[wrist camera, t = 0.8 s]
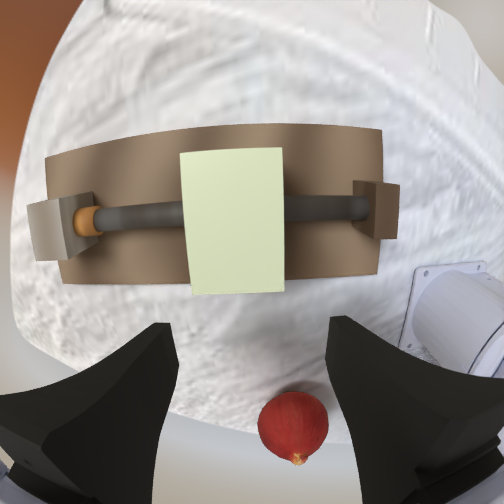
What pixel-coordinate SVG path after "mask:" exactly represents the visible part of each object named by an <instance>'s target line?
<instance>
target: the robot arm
mask: <svg viewBox="0 0 504 504" xmlns="http://www.w3.org/2000/svg"><path fill="white" fill-rule="evenodd" d="M486 270H487V263H486V262H485V261H477V262H468V263H457V264H447V265H436V266H425V267H418V268H417V269H416V271H415V274H414V280H413V286H412V291H411V297H410V302H409V306H408V311H407V315H406V320H405V324H404V328H403V332H402V336H401V340H400V344H399V348H397V347H395V346H393V345H391V344H390V343H388V342H386V341H385V340H383V339H381V338H380V337H378V336H377V335H375V334H374V333H372V332H371V331H369V330H368V329H366V328H365V327H363V326H362V325H360V324H359V323H357V322H356V321H354V320H352V319H351V318H349V317H347V316H346V315H344V316H334V317H330V323H329V332H328V340H327V348H326V356H325V361H326V366H327V370H328V374H329V378H330V381H331V384H332V387H333V389H334V392H335V394H336V397H337V399H338V402H339V405H340V407H341V410H342V412H343V415H344V417H345V420H346V422H347V425H348V428H349V431H350V435H351V439H352V443H353V447H354V452H355V457H356V462H357V467H358V472H359V478H360V485H361V492H362V502H363V504H504V283H503V282H501V281H500V280H498V279H496V278H495V277H493V276H491V275H489V274H488V273H486ZM425 271H426V273H425V275H424V272H425ZM408 344H409V345H408ZM423 346H425V348H426V349H427V350H428V351H429V352H430V353H431V355H432V356H433V357H434V358H435V359H436V361H437V362H438V363H439V364H440V365H441V367H440V366H437V365H434V364H431V363H428V362H426V361H424V360H421V359H419V358H417V357H414V356H412V355H410V354H408V353H406V352H404V351H405V350H410V349H414V348H419V347H423ZM178 369H179V362H178V358H177V353H176V349H175V344H174V340H173V335H172V330H171V325H170V323H154V324H152V325H151V326H149V327H148V328H146V329H145V330H144V331H142V332H141V333H140V334H138V335H137V336H136V337H134V338H133V339H132V340H130V341H129V342H127V343H126V344H125V345H123V346H122V347H121V348H119V349H118V350H116V351H115V352H113V353H112V354H110V355H109V356H107V357H106V358H104V359H103V360H101V361H100V362H98V363H96V364H95V365H93V366H91V367H89V368H87V369H85V370H84V371H82V372H80V373H78V374H75V375H73V376H71V377H68V378H66V379H63V380H61V381H59V382H56V383H53V384H51V385H47V386H44V387H41V388H37V389H33V390H29V391H25V392H19V393H13V394H6V395H0V446H1V447H2V448H3V450H5V452H6V453H7V454H8V455H9V456H10V457H11V458H12V459H13V460H14V461H15V462H14V464H13V466H12V467H11V469H8V468H7V466H6V465H5V464H4V463H3V462H2V461H1V460H0V504H152V489H153V488H152V487H153V477H154V468H155V460H156V454H157V448H158V442H159V437H160V433H161V430H162V426H163V423H164V420H165V417H166V414H167V411H168V408H169V405H170V402H171V398H172V395H173V392H174V389H175V386H176V380H177V375H178Z"/></svg>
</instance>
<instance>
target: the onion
mask: <svg viewBox="0 0 504 504" xmlns="http://www.w3.org/2000/svg"><path fill="white" fill-rule="evenodd" d="M257 425H258V431H259V435H260V438H261V440H262V442H263V444H264V446H266V448H267V449H268V450H270V451H271V452H272V453H274V454H276V455H277V456H278V457H280V458H283V459H286V460H289V461H291V462H292V463H293V464H295V465H302V464H303V463H305V462H306V460H307V459H308V456H310V455H312V454H313V453H314V452H315V451H316V450H318V449H319V448H320V446H321V445H322V443H323V441H324V440H325V438H326V436H327V433H328V427H329V424H328V415H327V411H326V409H325V407H324V405H323V404H322V403H321V402H320V401H319V400H318V399H317V398H315V397H314V396H312V395H310V394H307V393H304V392H296V391H293V392H285V393H283V394H281V395H279V396H277V397H275V398H273V399H272V400H270V401H269V402H268V403H267V404H266V405H265V406H264V407H263V408H262V411H261V413H260V415H259V418H258V423H257Z"/></svg>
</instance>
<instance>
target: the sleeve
mask: <svg viewBox="0 0 504 504" xmlns="http://www.w3.org/2000/svg"><path fill="white" fill-rule="evenodd" d="M180 169H181V186H182V200H183V213H184V225H185V236H186V246H187V255H188V264H189V273H190V281H191V289H192V295H197V294H236V293H262V292H283V291H284V195H283V159H282V147H274V148H240V149H222V150H208V151H196V152H186V153H180Z"/></svg>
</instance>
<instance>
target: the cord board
mask: <svg viewBox="0 0 504 504" xmlns="http://www.w3.org/2000/svg"><path fill="white" fill-rule="evenodd" d="M274 147H282V159H283V195H284V280H295V279H313V278H330V277H345V276H360V275H373V274H377V270H378V260H379V250H380V239H397V231H398V217H399V195H400V185H397V184H391V183H384V182H383V145H382V130H378V129H370V128H361V127H350V126H337V125H321V124H286V123H273V124H238V125H221V126H208V127H197V128H188V129H179V130H171V131H164V132H157V133H150V134H144V135H138V136H133V137H127V138H122V139H117V140H112V141H108V142H103V143H99V144H94V145H90V146H86V147H82V148H78V149H74V150H71V151H67V152H64V153H60V154H57V155H53V156H50V157H47V158H45V170H46V185H47V197H48V200H45V201H41V202H37V203H33V204H29V205H27V213H28V220H29V227H30V233H31V239H32V244H33V249H34V254H35V259H36V261H51V260H58V265H59V269H60V273H61V277H62V281H63V284H186V283H191V281H190V273H189V264H188V255H187V246H186V236H185V225H184V213H183V200H182V186H181V169H180V153H186V152H196V151H208V150H222V149H240V148H274Z"/></svg>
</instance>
